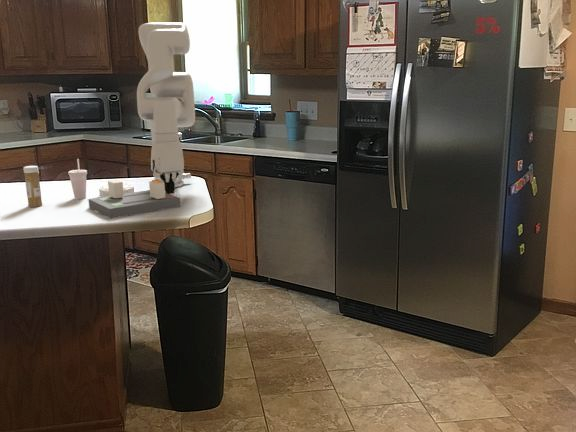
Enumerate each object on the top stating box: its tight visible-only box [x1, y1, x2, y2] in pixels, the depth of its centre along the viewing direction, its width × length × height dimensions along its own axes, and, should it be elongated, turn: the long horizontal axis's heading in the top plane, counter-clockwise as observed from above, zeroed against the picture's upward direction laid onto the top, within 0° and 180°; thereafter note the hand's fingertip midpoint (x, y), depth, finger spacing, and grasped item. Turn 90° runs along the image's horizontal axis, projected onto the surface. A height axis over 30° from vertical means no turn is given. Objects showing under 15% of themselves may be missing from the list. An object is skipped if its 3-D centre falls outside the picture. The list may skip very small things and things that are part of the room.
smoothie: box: [67, 158, 88, 200], centre depth 218 cm, size 6×6×14 cm
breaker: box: [107, 179, 124, 198], centre depth 205 cm, size 3×5×5 cm, turn 37°
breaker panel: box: [88, 189, 181, 219], centre depth 204 cm, size 24×18×3 cm
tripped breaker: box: [148, 179, 166, 199], centre depth 203 cm, size 3×5×6 cm, turn 37°
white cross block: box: [98, 183, 135, 197], centre depth 223 cm, size 12×12×4 cm
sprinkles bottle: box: [22, 165, 43, 208], centre depth 207 cm, size 5×5×14 cm
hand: (169, 193), depth 206 cm, fingers closed
